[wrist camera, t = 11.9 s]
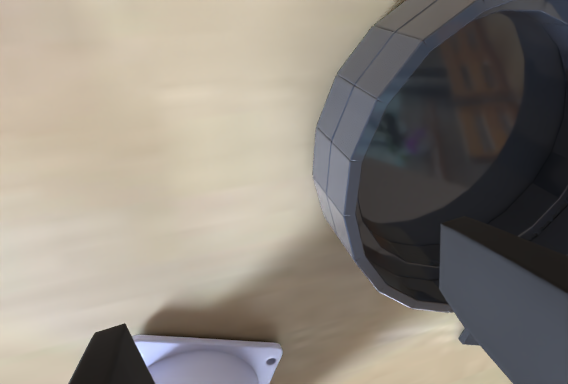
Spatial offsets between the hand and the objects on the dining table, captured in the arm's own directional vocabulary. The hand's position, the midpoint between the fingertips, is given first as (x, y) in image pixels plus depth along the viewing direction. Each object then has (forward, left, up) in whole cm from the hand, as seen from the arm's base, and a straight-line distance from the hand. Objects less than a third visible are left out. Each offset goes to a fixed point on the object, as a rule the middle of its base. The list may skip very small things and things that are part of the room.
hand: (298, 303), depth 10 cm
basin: (+3, -10, -9) cm, 14 cm away
